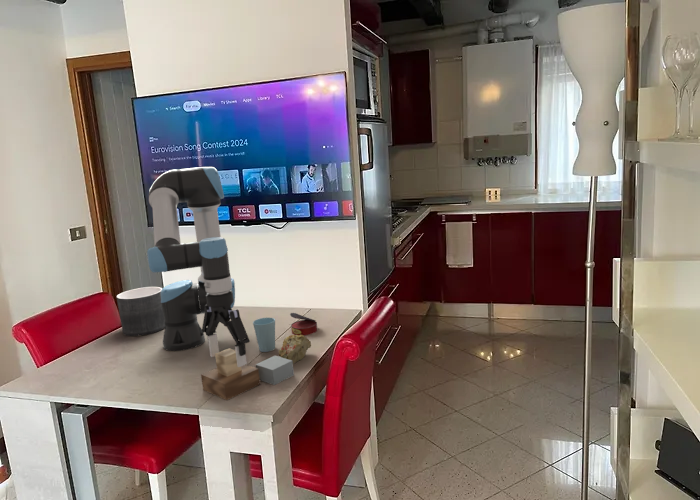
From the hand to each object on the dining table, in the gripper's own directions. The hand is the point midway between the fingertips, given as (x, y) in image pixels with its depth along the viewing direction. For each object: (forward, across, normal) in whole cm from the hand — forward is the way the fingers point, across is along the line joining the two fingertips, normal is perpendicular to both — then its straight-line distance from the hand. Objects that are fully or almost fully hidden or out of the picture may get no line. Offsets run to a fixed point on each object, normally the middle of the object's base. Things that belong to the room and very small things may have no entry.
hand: (228, 360), depth 158 cm
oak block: (+3, 0, 0) cm, 3 cm away
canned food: (+9, -17, +46) cm, 50 cm away
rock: (+9, 0, +24) cm, 26 cm away
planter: (+10, -80, +14) cm, 81 cm away
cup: (+9, -15, +26) cm, 31 cm away
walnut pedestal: (+8, 0, 0) cm, 8 cm away
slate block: (+9, +6, +12) cm, 16 cm away
